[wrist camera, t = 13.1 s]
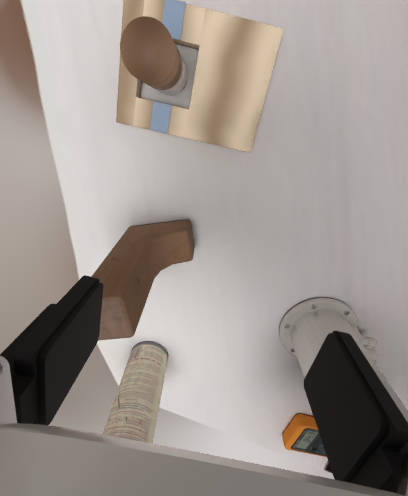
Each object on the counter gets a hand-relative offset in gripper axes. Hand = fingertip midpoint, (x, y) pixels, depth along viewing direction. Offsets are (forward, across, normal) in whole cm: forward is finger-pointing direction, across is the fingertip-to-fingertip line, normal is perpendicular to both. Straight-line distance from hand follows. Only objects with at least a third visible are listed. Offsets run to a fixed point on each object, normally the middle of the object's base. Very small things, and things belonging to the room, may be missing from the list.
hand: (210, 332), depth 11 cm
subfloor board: (+27, +6, -12) cm, 30 cm away
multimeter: (+31, -35, +45) cm, 65 cm away
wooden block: (+28, +6, +8) cm, 30 cm away
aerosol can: (+29, +5, +32) cm, 43 cm away
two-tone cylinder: (+27, +8, -12) cm, 31 cm away
